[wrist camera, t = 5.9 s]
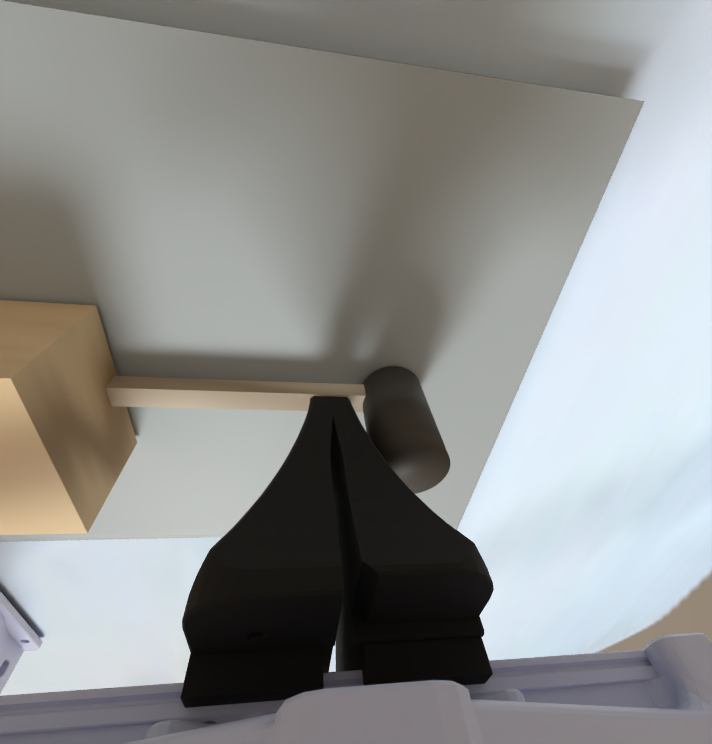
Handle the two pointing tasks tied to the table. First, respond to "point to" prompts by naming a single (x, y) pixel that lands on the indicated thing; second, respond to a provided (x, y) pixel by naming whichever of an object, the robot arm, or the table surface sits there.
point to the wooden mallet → (115, 393)
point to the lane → (286, 236)
